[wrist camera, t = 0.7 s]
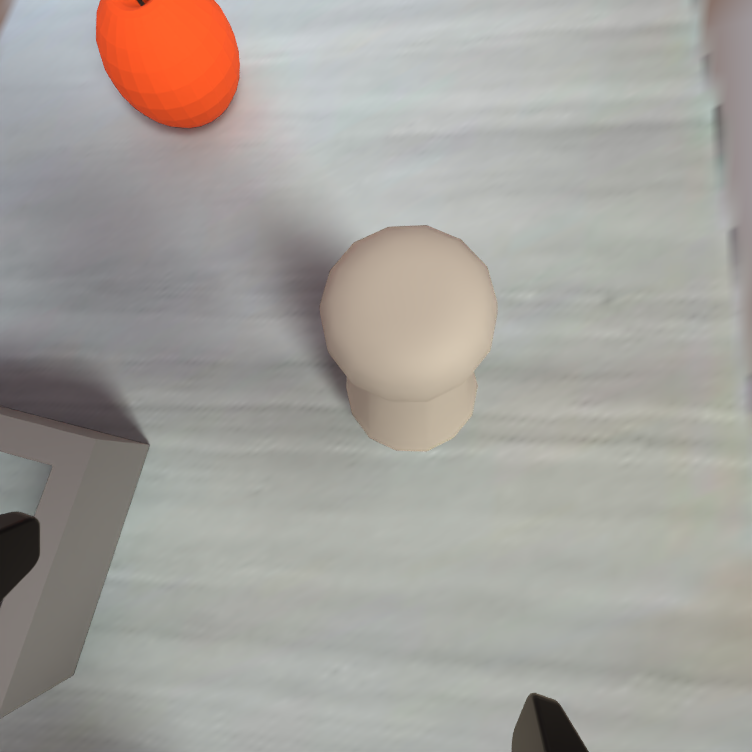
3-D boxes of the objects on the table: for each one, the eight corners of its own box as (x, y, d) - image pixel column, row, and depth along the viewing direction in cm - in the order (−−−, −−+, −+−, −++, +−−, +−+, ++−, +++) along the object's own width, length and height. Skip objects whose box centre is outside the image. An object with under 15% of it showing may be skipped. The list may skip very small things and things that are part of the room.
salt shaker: (456, 467, 22) (513, 459, 9) (342, 439, 22) (246, 396, 10) (480, 351, 23) (560, 201, 10) (370, 329, 24) (316, 162, 11)
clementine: (221, 28, 29) (158, -115, 22) (294, 88, 27) (252, -43, 20) (125, 110, 28) (28, -10, 21) (194, 177, 26) (116, 72, 20)
